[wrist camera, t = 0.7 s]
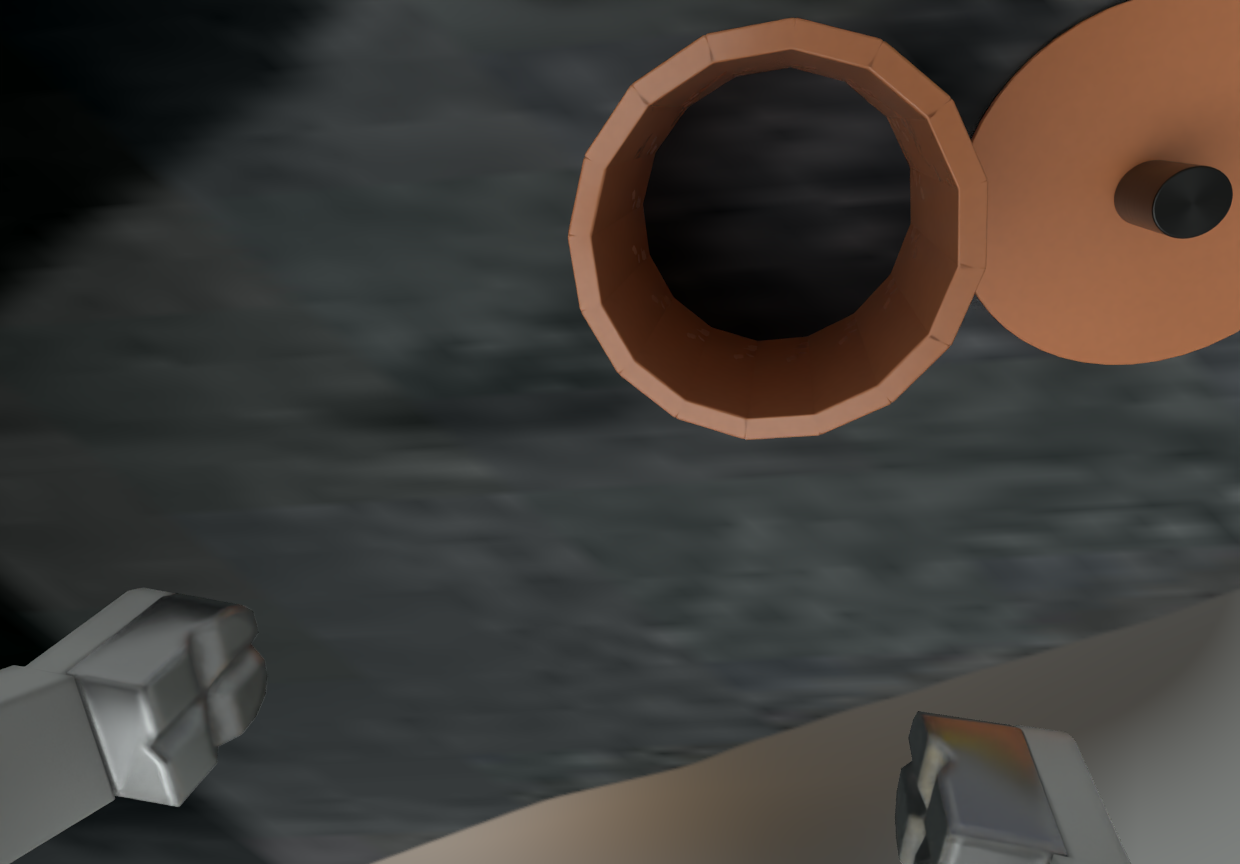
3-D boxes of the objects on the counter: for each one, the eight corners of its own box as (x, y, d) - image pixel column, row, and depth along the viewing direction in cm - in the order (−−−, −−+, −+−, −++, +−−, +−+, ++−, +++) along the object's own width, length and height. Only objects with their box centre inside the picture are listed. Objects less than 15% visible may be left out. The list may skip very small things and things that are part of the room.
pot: (611, 78, 32) (537, 65, 23) (926, 21, 29) (993, -21, 20) (650, 362, 37) (603, 449, 27) (928, 338, 34) (983, 426, 24)
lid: (950, 30, 29) (978, 16, 25) (1380, -45, 26) (1495, -76, 22) (949, 369, 34) (971, 406, 30) (1311, 341, 31) (1394, 378, 27)
